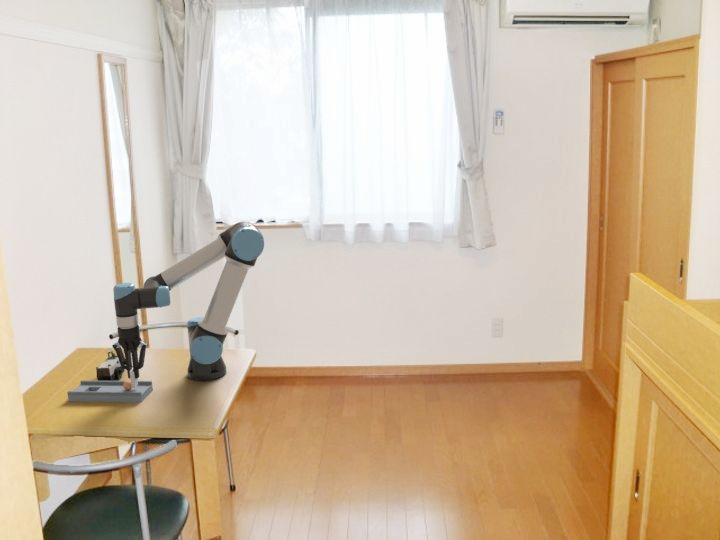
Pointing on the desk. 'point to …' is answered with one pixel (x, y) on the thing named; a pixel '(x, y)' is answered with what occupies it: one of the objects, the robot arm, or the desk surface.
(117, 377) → the camera
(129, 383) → the ball
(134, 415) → the desk surface
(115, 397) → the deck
